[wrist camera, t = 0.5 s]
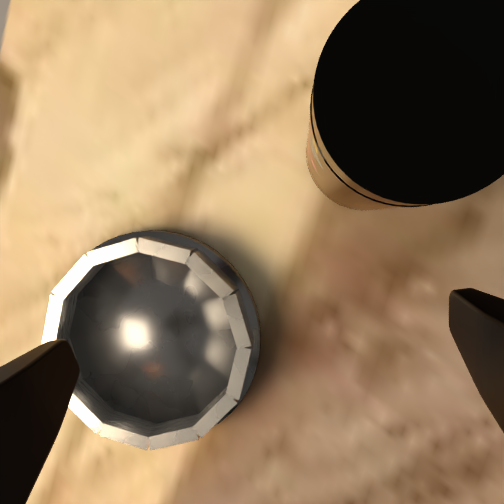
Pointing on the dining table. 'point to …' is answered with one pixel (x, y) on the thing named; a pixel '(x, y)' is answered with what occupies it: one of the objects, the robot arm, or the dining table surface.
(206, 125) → the dining table surface
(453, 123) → the supplement container
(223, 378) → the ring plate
